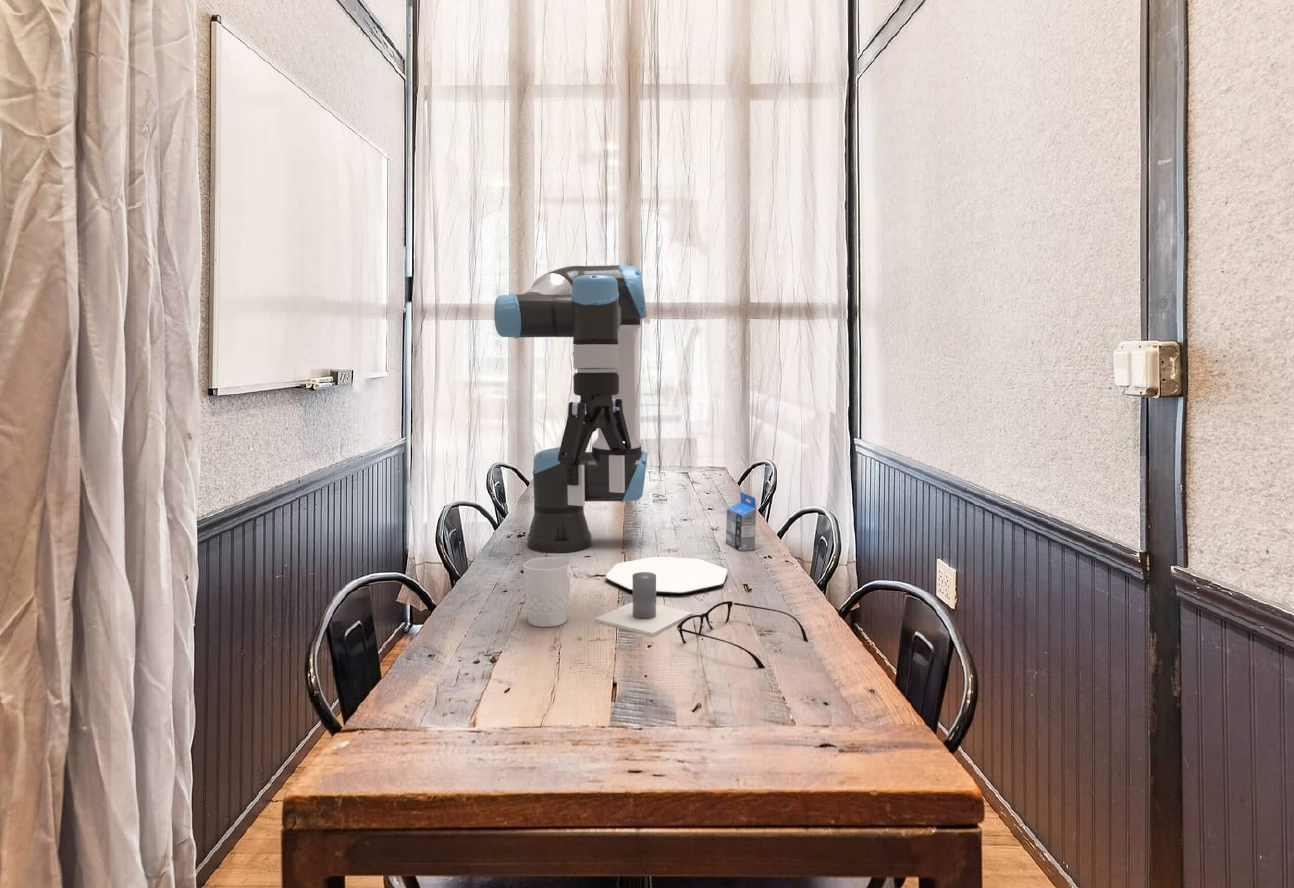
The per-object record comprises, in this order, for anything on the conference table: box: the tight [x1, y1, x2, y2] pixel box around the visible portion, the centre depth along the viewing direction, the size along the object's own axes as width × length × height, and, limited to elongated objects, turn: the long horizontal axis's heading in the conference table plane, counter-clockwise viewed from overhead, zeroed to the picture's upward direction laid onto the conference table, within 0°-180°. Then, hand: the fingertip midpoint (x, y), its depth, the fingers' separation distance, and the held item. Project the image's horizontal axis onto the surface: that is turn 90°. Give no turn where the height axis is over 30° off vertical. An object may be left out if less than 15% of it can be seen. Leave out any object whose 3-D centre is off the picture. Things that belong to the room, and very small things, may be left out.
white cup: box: [522, 556, 571, 628], centre depth 129 cm, size 8×8×10 cm
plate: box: [604, 556, 729, 595], centre depth 153 cm, size 24×24×2 cm
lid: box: [594, 572, 694, 638], centre depth 129 cm, size 12×12×8 cm
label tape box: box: [725, 491, 757, 552], centre depth 178 cm, size 9×4×12 cm, turn 17°
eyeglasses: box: [676, 600, 809, 669], centre depth 119 cm, size 16×16×4 cm
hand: (597, 498), depth 128 cm, fingers open, 13 cm apart
